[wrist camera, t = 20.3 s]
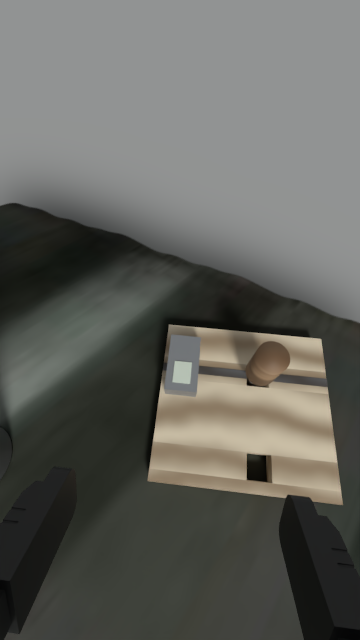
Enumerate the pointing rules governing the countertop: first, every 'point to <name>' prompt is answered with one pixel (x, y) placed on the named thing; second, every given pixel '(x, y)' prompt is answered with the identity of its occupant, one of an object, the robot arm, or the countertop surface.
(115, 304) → the countertop surface
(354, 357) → the countertop surface
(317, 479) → the board
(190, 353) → the block
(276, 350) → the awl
